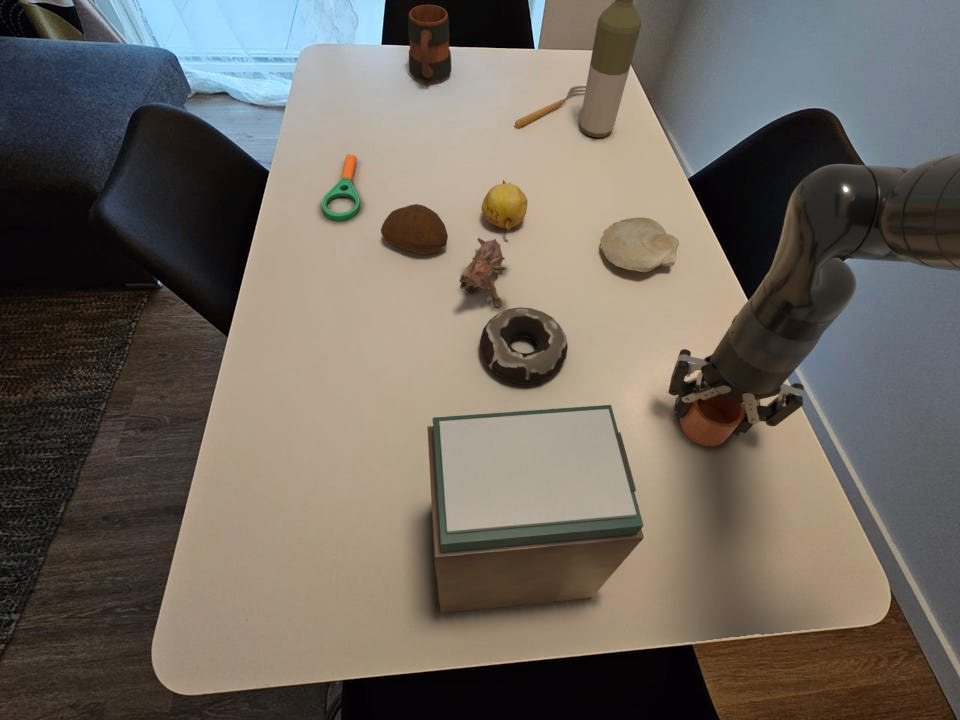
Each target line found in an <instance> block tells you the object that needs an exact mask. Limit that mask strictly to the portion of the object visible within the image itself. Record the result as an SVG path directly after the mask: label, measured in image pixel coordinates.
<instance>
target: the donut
mask: <svg viewBox="0 0 960 720" xmlns="http://www.w3.org/2000/svg"><path fill="white" fill-rule="evenodd" d="M520 337H522V338H523V337H524V338H528V339H530V340H532V341H533V342H534V343H535V344H536V347H537V348H536V349H535V350H533V351H530V352H520V351H518V350H515V349H514V348H513V347H512V346H511V341H512V340H514V339H516V338H520ZM568 345H569V344H568V340H567V335H566V333H565V332H564V329H563V328H562V327H561V325H560V324H559V322H557V321H556V320H555V318H554V317H552V316H550V315H549V314H547V313H546V312H544V311H542V310H538V309H536V308H531V307H521V306H520V307H512V308H508V309H505V310H502V311H500V312H498V313H497V314H496V315H494V316H493V317H492V318H490V319H489V320H488V321H487V323H486V324H485V326H484V328H482V332H481V335H480V339H479V346H480V347H479V348H480V354H481V356H482V359H483V361H484V363H485V365H486V366H487V367H488V368H489V369H490V370H491V372H493V373H494V375H497V376H498V377H499V378H501V379H503V380H505V381H508V382H512V383H514V384H523V385H529V384H530V385H531V384H537V383H541V382H542V381H545V380H547V379H549V378H552V377H553V376H554V375H555V374H556V373H558V371H560V369H561V368H562V366H563V364H564V363H565V360H566V359H567V355H568V348H569V347H568Z"/></svg>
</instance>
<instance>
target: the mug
mask: <svg viewBox="0 0 960 720" xmlns="http://www.w3.org/2000/svg"><path fill="white" fill-rule="evenodd" d="M407 17H408V19H407V21H408V39H409V50H408V69H409V71H408V72H409V73H410V75H411V76H412V77H413V79H414V80H415V81H417V82H419V83H421V84H428V85H434V84H435V85H436V84H439V83H443V82H445V81H446V80H447V79H448V78H449V76H450V75H451V73H452V54H451V50H450V49H451V48H450V38H451V37H450V19H449V18H450V17H449V13H448V12H447V10H446V9H445V8H443V7H442V6H439V5H435V4H421V5H417V6H415V7H413V8H411V9H410V11H409V12H408V15H407Z"/></svg>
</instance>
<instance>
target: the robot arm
mask: <svg viewBox="0 0 960 720" xmlns="http://www.w3.org/2000/svg"><path fill="white" fill-rule="evenodd" d="M843 259H845V260H846V259H847V260H864V261H865V260H867V261H868V260H869V261H882V262H897V263H898V262H901V263H911V264H915V265H918V266H920V267H921V266H922V267H926V268H931V269H932V268H933V269H937V270H945V271H946V270H947V271H955V272H960V153H955V154H950V155H945V156H941V157H937V158H934V159H931V160H927V161H925V162H922V163H919V164H918V165H916V166H914V167H903V166H902V167H901V166H900V167H899V166H884V165H865V164H864V165H863V164H852V163H851V164H850V163H832V164H827V165H823V166H821V167H819V168H816V169H815V170H814V171H812V172H811V173H809V174H808V175H806V176H805V177H804V178H803V179H802V180H801V181H800V182H798V184H797V185H796V186H795V188H794V189H793V191H792V192H791V194H790V197H789V199H788V202H787V205H786V208H785V213H784V218H783V223H782V229H781V233H780V237H779V241H778V243H777V248H776V251H775V254H774V258H773V261H772V263H771V267H770V268H769V270H768V272H767V273H766V275H765V277H764V278H763V280H762V281H761V283H760V284H759V286H758V287H757V289H755V292H754V293H753V294H752V296H751V297H750V298H749V299H748V300H747V301H746V302H745V303H744V305H743V306H742V307H741V309H739V311H738V313H737V314H736V315H735V316H734V317H733V319H732V321H731V324H730V326H729V327H728V329H727V330H726V332H725V334H724V335H723V336H722V338H721V339H720V341H719V343H718V345H717V346H716V347H715V350H714V351H713V353H712V354H710V355H708V356H706V357H704V358H699V357H695V356H691V354H692V352H691V351H690V350H689V349H686V348H683V349H681V350H680V351H679V353H678V356H677V359H676V362H675V365H674V368H673V370H672V374H671V377H670V382H669V388H668V394H669V395H671V396H677V397H676V398H675V401H674V406H673V412H675V413H676V417H678V418H680V417H681V418H683V416H684V415H685V413H686V412H687V410H688V409H689V407H690V406H691V405H692V402H693V401H696V400H698V399H702V400H706V399H709V398H711V397H714V396H718V397H723V398H728V399H730V400H732V401H734V402H738V403H742V402H744V405H745V417H744V419H743V420H742V422H741V423H740V424H739V425H738V426H737V428H736V429H735V430H734V431H733V432H732V433H731V435H734V436H738V437H739V436H740V434H746V433H748V432H749V430H750V429H752V427H754V425H757V424H759V423H760V422H762V423H763V422H764V423H765V424H766V425H767V426H769V427H776V426H778V425H779V424H780V423H781V422H783V421H784V420H786V419H787V418H788V417H789V416H791V415H792V414H794V413H795V412H796V411H797V410H799V409H800V408H802V407H803V406H804V394H805V393H804V388H805V387H804V385H803V384H802V383H799V382H795V383H792V384H791V385H788V384H787V383H785V382H786V381H787V380H788V378H789V377H791V375H792V374H793V373H794V371H796V369H797V368H798V367H799V366H800V365H801V364H802V363H803V361H805V359H807V357H808V356H809V355H810V354H811V353H812V351H813V350H814V348H815V347H816V346H817V344H818V342H819V341H820V339H821V337H822V335H823V334H824V333H825V332H826V330H828V328H829V327H830V326H831V325H832V324H833V323H834V322H835V320H836V319H837V318H838V317H839V316H840V314H842V312H843V311H844V310H845V309H846V308H847V306H848V305H849V303H850V302H851V301H852V299H853V297H854V296H855V293H856V290H857V279H856V278H857V277H856V275H855V273H854V271H853V270H852V268H851V266H849V265H848V263H846V261H844V260H843ZM696 371H700V372H699V373H698V374H697V376H695V377H693V378H691V379H689V380H686V381H685V378H689V377H691V375H692V374H694V373H695V372H696ZM772 397H775V398H774V399H773V400H772V401H771V402H769V403H768V404H767V405H762V402H761V400H763V399H768V398H772Z"/></svg>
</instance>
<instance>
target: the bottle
mask: <svg viewBox="0 0 960 720" xmlns="http://www.w3.org/2000/svg"><path fill="white" fill-rule="evenodd" d="M641 29H642V19H641V17H640V15H639V12H638V11H637V10H636V7H635V5H634V0H615V1H614V2H612V3H611V4H610V5H608V7H606V9H604V10H603V11H602V12H601V14H600V15H599V16H598V19H597V24H596V29H595V35H594V41H593V46H592V52H591V57H590V64H589V68H588V74H587V80H586V85H585V86H586V88H585V89H584V90H585V92H584V93H585V95H583V96H584V97H583V103H582V108H581V113H580V119H579V127H580V130H581V132H582V133H584V134H585V135H587V136H589V137H593V138H605V137H607V136H610V135H611V133H612V131H613V130H614V127H615V124H616V121H617V120H616V119H617V117H618V113H619V109H620V105H621V103H622V98H623V95H624V91H625V87H626V83H627V79H628V76H629V72H630V68H631V66H632V65H631V64H632V61H633V58H634V54H635V50H636V46H637V43H638V39H639V35H640V32H641Z"/></svg>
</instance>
